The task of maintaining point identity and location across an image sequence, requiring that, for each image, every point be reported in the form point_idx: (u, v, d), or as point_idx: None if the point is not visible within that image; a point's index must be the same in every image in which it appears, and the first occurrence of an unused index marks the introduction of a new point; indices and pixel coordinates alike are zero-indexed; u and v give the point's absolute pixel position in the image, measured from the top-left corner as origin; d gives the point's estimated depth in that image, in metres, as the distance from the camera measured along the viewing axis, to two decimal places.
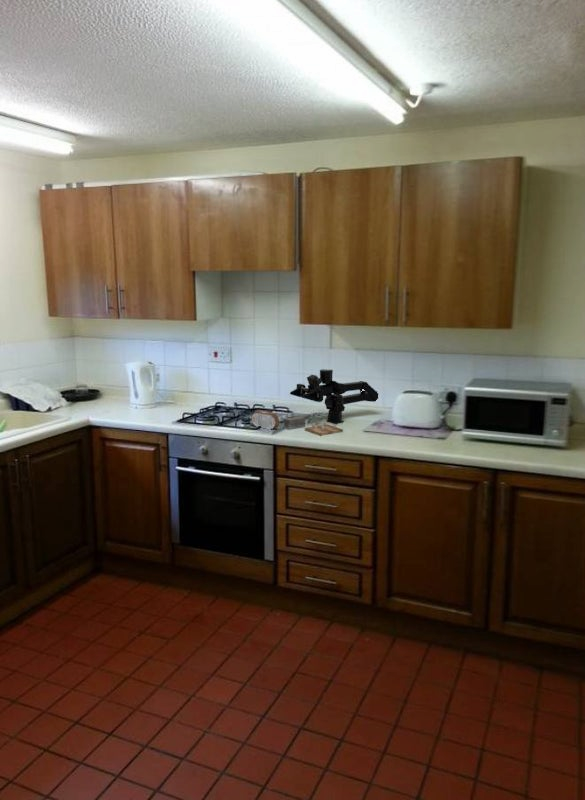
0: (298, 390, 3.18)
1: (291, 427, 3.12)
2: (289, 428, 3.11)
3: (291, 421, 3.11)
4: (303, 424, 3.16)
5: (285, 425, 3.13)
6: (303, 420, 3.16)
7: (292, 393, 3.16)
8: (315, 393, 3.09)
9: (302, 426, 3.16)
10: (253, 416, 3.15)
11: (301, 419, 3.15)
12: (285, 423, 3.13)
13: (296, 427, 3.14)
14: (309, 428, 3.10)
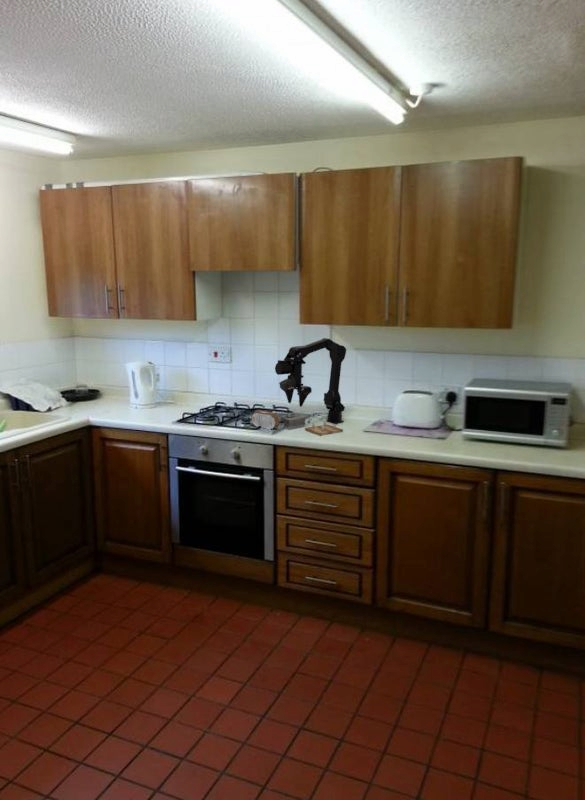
0: (288, 392, 3.16)
1: (291, 427, 3.12)
2: (290, 428, 3.11)
3: (291, 421, 3.11)
4: (303, 424, 3.16)
5: (285, 425, 3.13)
6: (303, 420, 3.16)
7: (290, 400, 3.17)
8: (302, 394, 3.06)
9: (302, 426, 3.16)
10: (253, 416, 3.15)
11: (301, 419, 3.15)
12: (285, 423, 3.13)
13: (296, 427, 3.14)
14: (309, 428, 3.10)
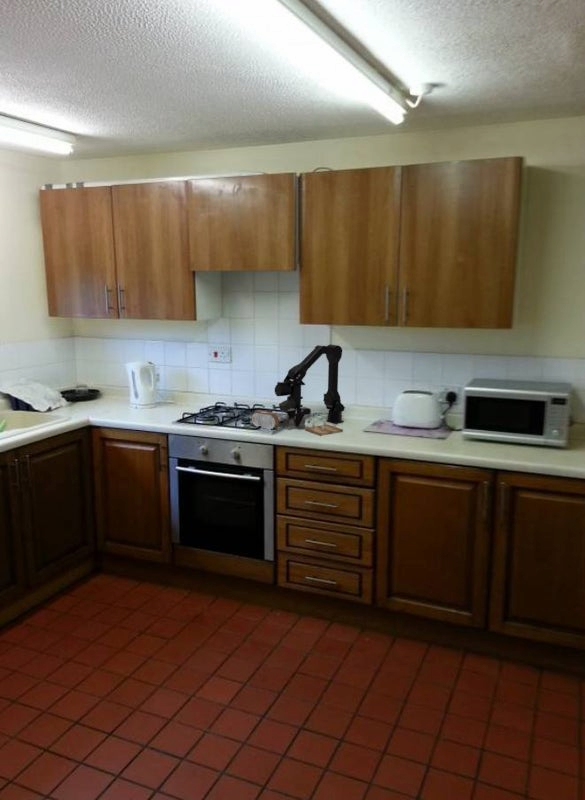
0: (290, 414, 3.16)
1: (292, 427, 3.12)
2: (290, 428, 3.11)
3: (292, 421, 3.11)
4: (303, 423, 3.17)
5: (285, 425, 3.13)
6: (303, 419, 3.16)
7: None
8: (299, 415, 3.10)
9: (302, 425, 3.16)
10: (253, 416, 3.15)
11: None
12: (286, 423, 3.12)
13: (296, 427, 3.14)
14: (309, 428, 3.10)
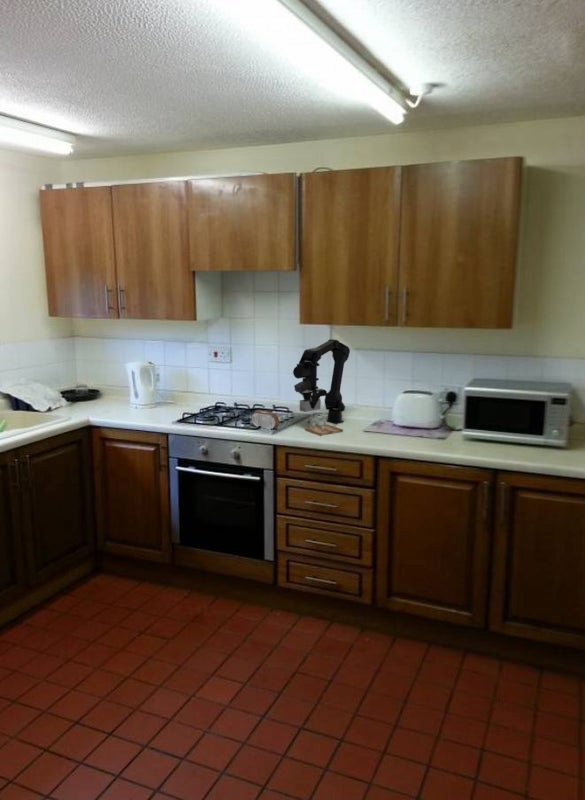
0: (306, 396, 3.11)
1: (307, 409, 3.07)
2: (305, 410, 3.07)
3: (307, 402, 3.06)
4: (318, 405, 3.12)
5: (301, 407, 3.08)
6: (318, 401, 3.11)
7: None
8: (314, 396, 3.05)
9: (318, 408, 3.12)
10: (253, 416, 3.15)
11: None
12: (301, 405, 3.08)
13: (312, 409, 3.09)
14: (309, 428, 3.10)
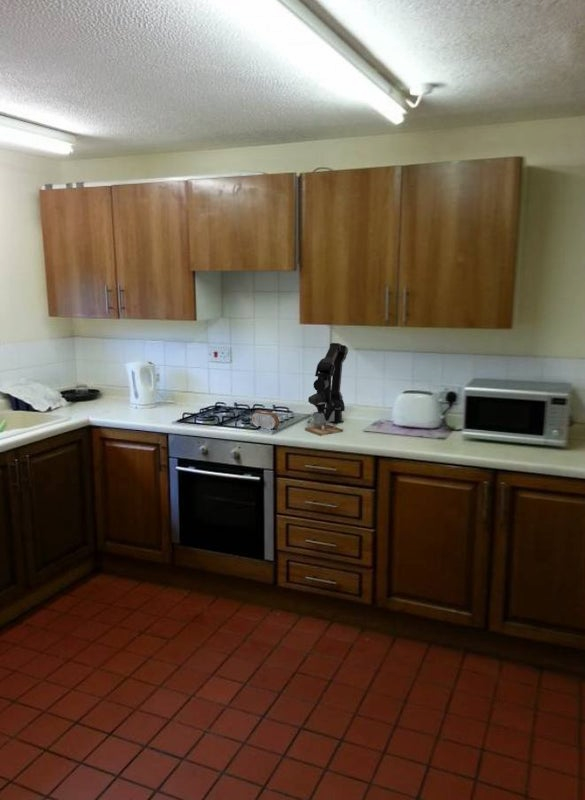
0: (319, 408, 3.10)
1: (322, 421, 3.05)
2: (320, 422, 3.05)
3: (322, 414, 3.05)
4: (332, 417, 3.10)
5: (315, 419, 3.06)
6: (332, 413, 3.10)
7: None
8: (329, 408, 3.03)
9: (332, 419, 3.10)
10: (253, 416, 3.15)
11: None
12: (315, 417, 3.06)
13: None
14: (309, 428, 3.10)
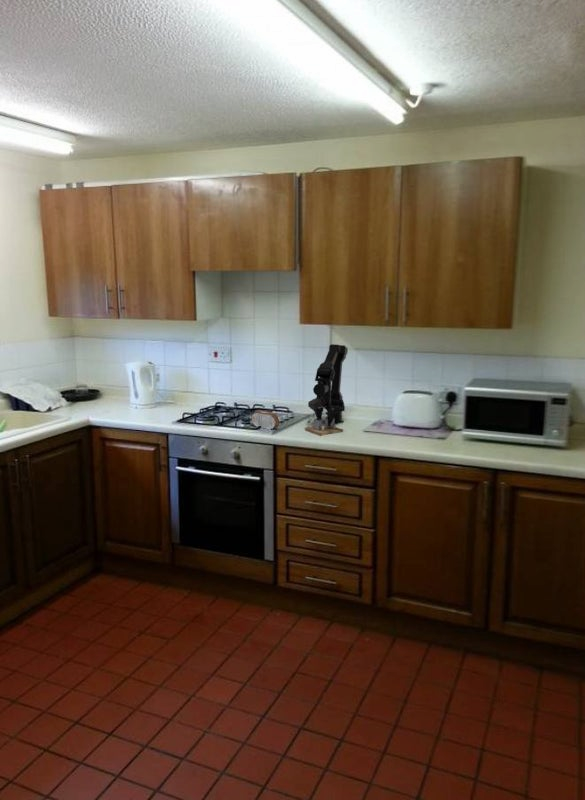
0: (317, 411, 3.11)
1: (321, 428, 3.06)
2: (319, 429, 3.05)
3: (321, 422, 3.05)
4: (332, 424, 3.11)
5: (315, 426, 3.07)
6: None
7: None
8: (331, 413, 3.02)
9: (331, 426, 3.10)
10: (253, 416, 3.15)
11: None
12: (315, 424, 3.07)
13: (326, 428, 3.08)
14: (309, 428, 3.10)
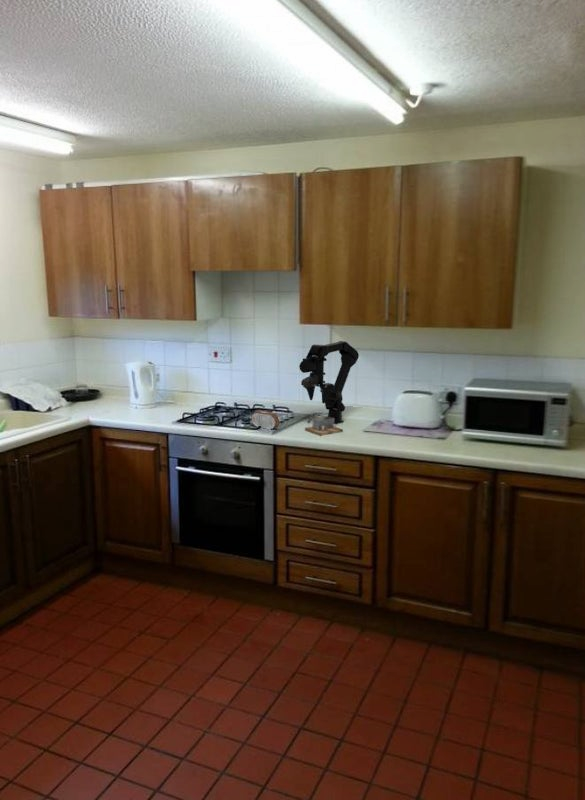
0: (309, 389, 3.19)
1: (321, 428, 3.06)
2: (319, 429, 3.05)
3: (321, 422, 3.05)
4: (332, 424, 3.11)
5: (315, 426, 3.07)
6: (332, 420, 3.10)
7: (311, 397, 3.20)
8: (325, 391, 3.10)
9: (331, 426, 3.10)
10: (253, 416, 3.15)
11: (330, 419, 3.09)
12: (315, 424, 3.07)
13: (326, 428, 3.08)
14: (309, 428, 3.10)
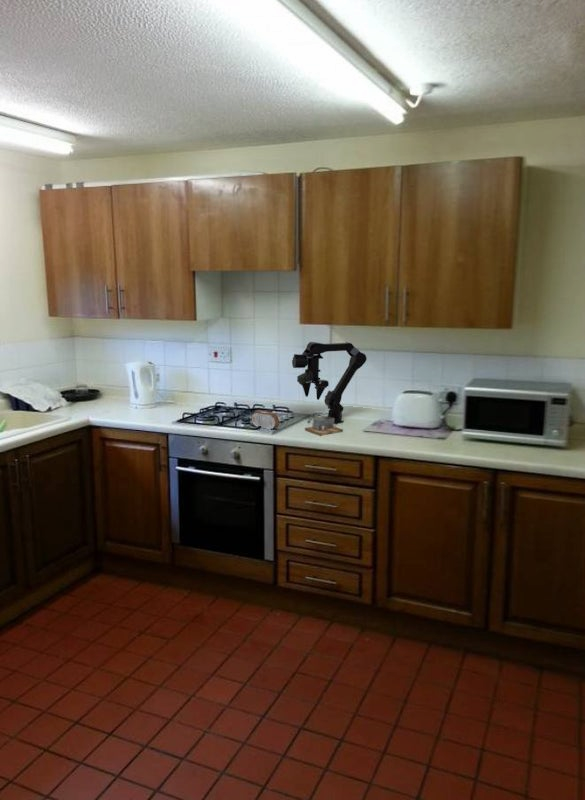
0: (305, 386, 3.25)
1: (321, 428, 3.06)
2: (319, 429, 3.05)
3: (321, 422, 3.05)
4: (332, 424, 3.11)
5: (315, 426, 3.07)
6: (332, 420, 3.10)
7: (307, 394, 3.26)
8: (319, 388, 3.15)
9: (331, 426, 3.10)
10: (253, 416, 3.15)
11: (330, 419, 3.09)
12: (315, 424, 3.07)
13: (326, 428, 3.08)
14: (309, 428, 3.10)
